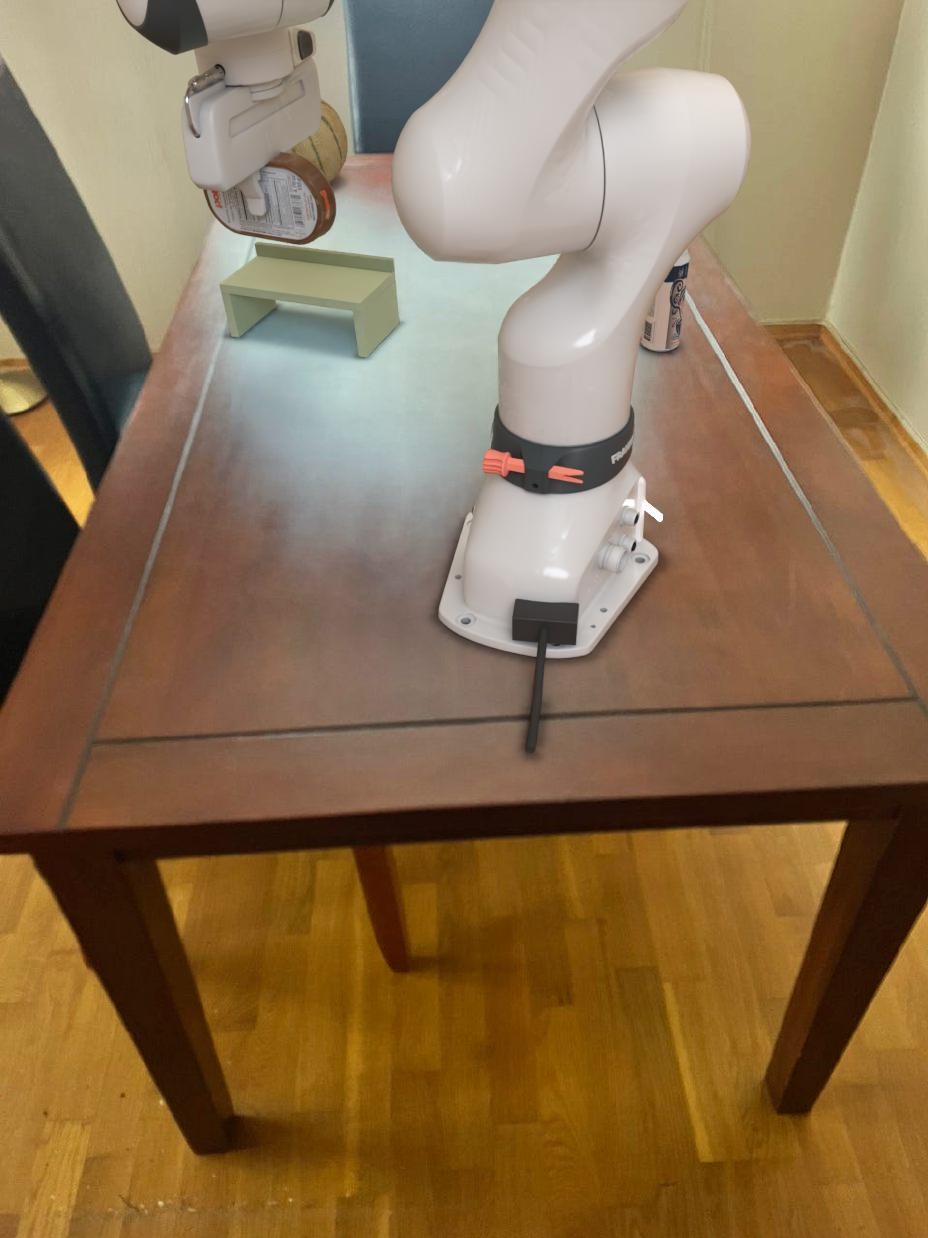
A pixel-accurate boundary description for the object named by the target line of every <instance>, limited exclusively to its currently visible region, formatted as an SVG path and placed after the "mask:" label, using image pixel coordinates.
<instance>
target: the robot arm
mask: <svg viewBox="0 0 928 1238" xmlns="http://www.w3.org/2000/svg"><path fill="white" fill-rule="evenodd" d="M115 2H116V5H117V7H118V9H119V11H120V13H121V15H122V17H123V18H124V20H125V22H127V24H128V25H129V26H130V27H131V28H132V29H134V31H136V32H137V34H139V35H140V36H142V37H143V38H145V39H146V40H147V41H149V42H150V43H152V44H153V45H155V46H156V47H158V48H160V49H162V50H163V51H166V52H167V53H169V54H171V55H173V56H177V55H180V54H185V53H187V52H191V51H193V53H194V57H195V61H196V67H197V71H198V74H196V75H194V76H192V77H191V78H190V79H189V80H188V81H187V88H186V90H185V93H184V96H183V97H182V107H181V115H180V116H181V130H182V131H181V132H182V139H183V146H184V152H185V158H186V165H187V170H188V175H189V178H190V180H191V181H192V183H193V184H194V185H195V186H196V187H197V189H199V190H203V189H204V190H211V191H227V190H229V189H231V188H232V187H234V186H235V185H238V187H239V188H240V190H241V191H242V193H243V194H244V195H245V197H246V198H247V204H248V209H249V212H250V213H251V214H252V215H257V216H263V215H264V214H266V213H267V212H268V211H270V209H271V204H270V199H269V193H263V191H262V189H261V187H260V185H259V183H258V181H259V180H260V179H261V177H260V171H259V169H261V168H262V167H264V166H265V165H267V164H268V163H269V162H270V161H271V160H272V159H274V158H275V157H277V156H278V155H279V154H280V152H286V153H290V149H291V148H293V147H294V146H296V145H297V144H299V143H300V142H302V141H303V140H305V139H306V138H308V137H309V136H311V135H312V134H314V133H315V132H317V131H318V130H319V127H320V123H321V117H322V108H321V99H322V98H321V89H320V88H321V87H320V80H319V73H318V68H317V65H316V62H315V60H314V59H313V57H314V56H315V55H316V53H317V39H316V34H315V32H314V30H312V29H310V28H306V27H301V26H299V25H304V24H307V23H311V22H313V21H315V20H317V19H319V18H323V17H325V16H326V15H327V14H328V12H329V11H330V10H331V8H332V6H333V5H334V2H335V0H115ZM689 2H690V0H494V1H493V3H492V6H491V8H490V11H489V14H488V15H487V18H486V20H485V22H484V24H483V26H482V28H481V30H480V32H479V34H478V36H477V38H476V40H475V42H474V43H473V45H472V47H471V49H470V50H469V52H468V53H467V54H466V56H465V58H464V59H463V60H462V62H461V64H460V65H459V67H458V68H457V69H456V71H455V72H454V73H453V74H452V75H451V77H450V78H449V79H448V80H447V81H446V82H445V83H444V84H443V86H442V87H441V88H440V89H439V90H438V91H437V92H436V93H435V94H434V95H433V96H431V97H430V98H429V99H428V100H427V101H426V102H425V103H424V104H422V105H421V106H420V107H419V108H417V109H416V110H415V111H414V112H413V113H412V114H411V115H410V117H409V118H408V120H406V122H405V125H404V126H403V128H402V130H401V132H400V134H399V137H398V140H397V142H396V145H395V147H394V151H393V156H392V163H391V170H390V171H391V172H390V175H391V177H390V183H391V194H392V199H393V203H394V207H395V210H396V213H397V216H398V219H399V221H400V223H401V225H402V227H403V229H404V230H405V232H406V234H407V235H408V237H409V238H410V240H411V241H412V242H413V243H414V244H415V245H416V247H417V248H418V249H419V250H420V251H421V252H422V253H424V255H426V256H427V257H428V258H430V259H431V260H432V261H434V262H443V263H454V264H455V263H457V264H474V265H476V264H477V265H503V264H508V263H514V262H520V261H525V260H532V259H538V258H543V257H549V256H555V255H558V257H557V259H556V261H555V262H554V264H553V266H552V267H551V268H550V270H549V271H548V272H547V273H546V274H545V275H544V276H543V277H542V278H541V279H540V280H539V281H538V282H537V283H535V284H534V285H533V286H531V287H530V288H529V289H527V290H526V291H525V292H524V293H522V294H521V295H520V296H519V297H517V298H516V299H515V300H514V301H513V303H512V304H511V305H510V306H509V308H508V310H507V311H506V313H505V315H504V317H503V319H502V321H501V324H500V327H499V330H498V333H497V340H496V341H497V383H498V384H497V389H498V390H497V394H498V395H497V397H498V400H497V401H498V402H497V404H496V405H495V409H494V413H493V420H492V424H491V427H490V428H491V429H490V448H488V449H487V450H486V451H485V453H484V455H483V460H482V471H483V475H482V477H481V482H480V485H479V490H478V494H477V498H476V501H475V503H474V505H473V506H472V509H471V511H470V512H468V513H467V514H466V516H465V519H464V521H463V526H462V529H461V532H460V536H459V539H458V542H457V545H456V548H455V552H454V556H453V559H452V561H451V566H450V569H449V571H448V575H447V578H446V582H445V585H444V589H443V591H442V594H441V595H442V596H441V599H440V601H439V606H438V615H437V618H438V619H439V621H440V622H441V623H442V624H443V625H444V626H445V627H447V628H448V629H449V630H450V631H452V632H454V633H455V634H457V635H459V636H461V637H463V638H465V639H467V640H470V641H472V642H474V643H477V644H480V645H483V646H486V647H489V648H492V649H493V648H494V649H496V650H499V651H503V652H507V653H512V654H516V655H522V656H527V657H533V658H534V657H535V658H536V659H535V666H534V676H533V687H532V689H533V690H532V703H531V710H530V716H529V717H530V718H529V725H528V730H527V737H526V743H525V751H526V752H527V753H534V752H535V751H536V747H537V739H538V733H539V724H540V719H541V712H542V711H541V710H542V700H543V689H544V675H545V666H546V665H545V664H546V659H570V658H577V657H583V656H587V655H589V654H591V652H592V651H594V649H595V648H596V647H597V645H598V644H599V643H600V641H601V640H602V639H603V637H604V636H605V635H606V633H607V632H608V631H609V629H610V628H611V626H612V625H613V624H614V623H615V622H616V620H617V618H618V617H619V616H620V615H621V613H622V612H623V610H624V609H625V608H626V607H627V605H628V604H629V603H630V602H631V600H632V599H633V598H634V596H635V594H636V593H637V592H638V590H639V589H640V588H641V587H642V586H643V584H644V583H645V581H646V580H647V579H648V577H649V576H650V575H651V573H653V570H654V569H655V568H656V566H657V565H658V564H659V550H658V549H657V548H656V546H655V545H654V544H653V543H651V542H650V541H649V540H647V539H646V538H645V537H644V527H645V526H644V525H645V524H644V523H645V511H646V512H647V513H648V514H649V515H651V516H652V517H654V518H655V519H656V521H658V522H662V521H663V516H664V515H663V513H661V512H660V511H659V510H658V509H656V508H655V507H654V506H652V505H651V504H650V503H648V501H647V500H646V489H647V481H646V478H644V476H643V474H642V473H641V472H640V470H638V468H637V467H636V464H635V463H634V461H633V459H632V457H631V456H632V452H633V447H634V441H635V435H636V423H635V410H634V407H633V406H632V396H633V388H634V381H635V373H636V367H637V366H636V365H637V359H638V354H639V349H640V348H639V347H640V344H641V338H642V330H643V326H644V323H645V320H646V317H647V315H648V312H649V310H650V308H651V305H652V303H653V301H654V299H655V297H656V295H657V293H658V291H659V289H660V288H661V286H662V284H663V282H664V281H665V279H666V277H667V276H668V274H669V272H670V271H671V269H672V268H673V266H674V265H675V263H676V262H677V260H678V259H679V258H680V256H681V255H682V254H683V252H684V251H685V250H686V249H687V250H688V248H689V246H690V245H691V244H692V243H693V242H694V241H695V240H696V239H697V237H698V236H700V234H701V233H702V232H703V231H704V230H706V229H707V227H708V226H710V225H712V223H713V222H714V221H715V220H717V219H718V218H719V217H721V216H722V215H723V214H725V212H727V211H728V210H729V208H730V207H731V206H732V204H733V203H734V202H735V199H736V198H737V196H738V195H739V193H740V191H741V189H742V187H743V185H744V182H745V179H746V177H747V173H748V169H749V166H750V160H751V154H752V130H751V125H750V124H751V123H750V118H749V116H748V113H747V112H748V111H747V109H746V107H745V104H744V102H743V100H742V98H741V96H740V94H739V92H738V91H737V90H736V88H735V87H734V86H733V85H732V83H731V82H730V81H729V80H728V79H727V78H726V77H724V76H722V75H720V74H719V73H718V74H717V73H712V72H706V71H700V70H694V69H693V70H692V69H685V68H676V67H665V66H654V67H646V68H637V69H630V70H622V71H619V70H620V69H621V68H622V67H623V66H624V65H625V64H626V63H627V62H628V61H629V60H630V59H632V58H633V57H634V56H635V55H637V54H638V53H640V52H641V51H642V50H644V48H646V47H648V46H649V45H650V44H651V43H653V42H654V41H656V40H657V39H658V38H659V37H660V36H662V35H663V34H664V33H665V32H666V31H667V30H668V29H670V28H671V27H672V25H674V23H675V22H676V21H677V20H678V19H679V17H680V16H681V14H682V13H683V11H684V10H685V8H686V7H687V5H688V3H689Z"/></svg>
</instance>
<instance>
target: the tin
mask: <svg viewBox="0 0 928 1238" xmlns="http://www.w3.org/2000/svg"><path fill="white" fill-rule="evenodd" d="M259 171H260V177H261V179H260V180H259V181H258V183H259V185H260V187H261V189H262V191H263V193H269V199H270V204H271V209H270V211H268V212H267V213H266V214H264V215H263V216H257V215H252V214H251V213H250V212H249V209H248V204H247V198H246V197H245V195H244V194H243V193H242V191H241V190H240V188H239V187H238V185H235V186H234V187H232V188H231V189H229V190H227V191H211V190H204V189H202V191H203V195H204V198H205V201H206V203H207V207H208V208H209V210H210V212H211V214H212V215H213V217H215V219H216V220H217V221H218V222H219V223H220V224H221V225H222V226H223V227H224V228H225V229H227V230H229V231H230V232H232V233H234V234H237V235H241V236H245V237H251V238H256V239H257V238H258V239H263V240H268V241H274V242H278V243H279V242H280V243H285V244H292V245H295V246H297V245H298V246H304V245H309V244H311V243H313V242H314V241H315V240H317V239H319V238H321V237H323V236H324V235H326V234H327V233H328V232H329V231H330V230H331V229H332V227H333V225H334V223H335V221H336V216H337V201H336V200H337V199H336V196H335V193H334V190H333V189H334V188H333V187H332V185H331V183H330V182H331V181H330V182H329V181H328V179H327V177H326V175H325V174H324V173H323V171H322V170H321V169H320V168H319V167H318V166H317V165H316V164H315V163H314V162H312V161H311V160H309V159H308V158H306V157H304V156H301V155H298V154H293V153H286V152H280V154H279V155H278V156H277V157H275V158H274V159H272V160H271V161H270V162H269V163H268V164H267V165H265V166H264V167H262V168H261V169H259Z"/></svg>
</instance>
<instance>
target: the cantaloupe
mask: <svg viewBox="0 0 928 1238" xmlns="http://www.w3.org/2000/svg"><path fill="white" fill-rule="evenodd" d="M321 108H322V117H321V123H320V127H319V130H318V131H317V132H315V133H314V134H312V135H311V136H309V137H308V138H306V139H305V140H303V141H302V142H300V143H299V144H297V145H296V146H294V147H293V148H291V149H290V153H293V154H298V155H301V156H304V157H306V158H308V159H309V160H311V161H312V162H314V163H315V164H316V165H317V166H318V167H319V168H320V169H321V170H322V171H323V173H324V174H325V175H326V177H327V179H328V181H329V182H332V181H333V180H334V179H335V178H336V177H337V175H338V174H340V172H341V171H342V169H343V167H344V165H345V164H346V161H347V156H348V149H349V147H348V145H349V142H348V136H347V132H346V128H345V125H344V123H343V122H342V119H341V118H340V117H341V116H340V115H339V114H338V112H337V111H336V110H335V108H334V106H332V105H331V104H330V103H328V102H327V101H325V100H324V99H322V98H321Z"/></svg>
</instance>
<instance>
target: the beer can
mask: <svg viewBox="0 0 928 1238" xmlns="http://www.w3.org/2000/svg"><path fill="white" fill-rule="evenodd" d="M690 262H691V255H690V253H689V250H688V248H687V249H686V250H685V251H684V252H683V254H682V255H681V256H680V258H679V259H678V260H677V262H676V263H675V265H674V266H673V268H672V269H671V271H670V272H669V274H668V276H667V277H666V279H665V281H664V282H663V284H662V286H661V288H660V289H659V291H658V293H657V295H656V297H655V299H654V301H653V303H652V305H651V308H650V310H649V312H648V315H647V317H646V320H645V323H644V326H643V330H642V334H641V337H640V344H641V345H642V346H643V347H644V348H646V349H648V351H652V352H655V353H656V352H657V353H666V352H670V351H672V350H674V349H675V348H677V347H678V346H679V345H680V337H681V328H682V323H683V321H682V320H683V314H684V304H685V298H686V290H687V289H686V288H687V283H688V274H689V266H690Z"/></svg>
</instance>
